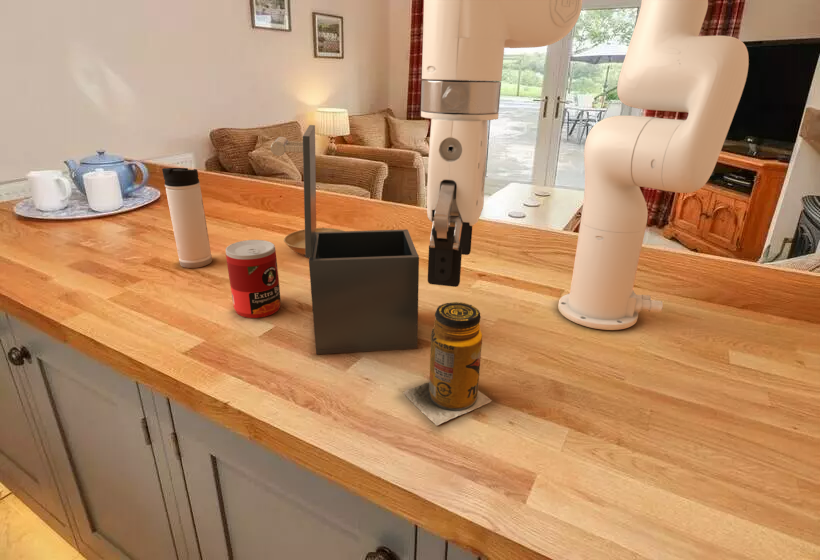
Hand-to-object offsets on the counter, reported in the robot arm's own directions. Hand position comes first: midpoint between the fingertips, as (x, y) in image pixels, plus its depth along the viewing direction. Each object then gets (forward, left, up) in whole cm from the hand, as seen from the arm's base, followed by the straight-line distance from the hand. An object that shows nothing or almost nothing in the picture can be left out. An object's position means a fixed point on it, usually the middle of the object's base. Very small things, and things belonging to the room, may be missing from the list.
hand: (450, 267), depth 54 cm
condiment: (0, 0, -18) cm, 18 cm away
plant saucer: (+37, -48, -18) cm, 63 cm away
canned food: (+35, -17, -18) cm, 43 cm away
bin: (+15, -14, -18) cm, 27 cm away
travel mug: (+58, -33, -18) cm, 69 cm away
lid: (+21, -12, +5) cm, 25 cm away
